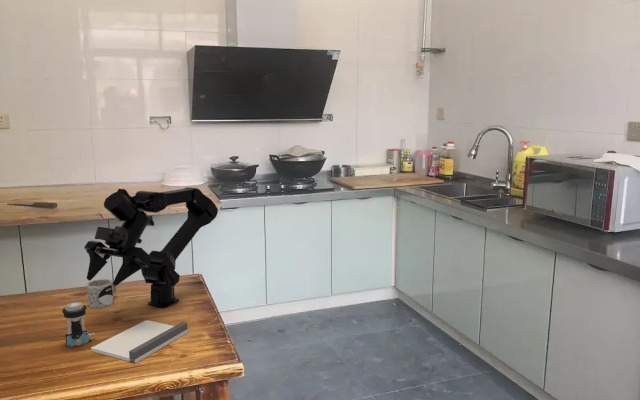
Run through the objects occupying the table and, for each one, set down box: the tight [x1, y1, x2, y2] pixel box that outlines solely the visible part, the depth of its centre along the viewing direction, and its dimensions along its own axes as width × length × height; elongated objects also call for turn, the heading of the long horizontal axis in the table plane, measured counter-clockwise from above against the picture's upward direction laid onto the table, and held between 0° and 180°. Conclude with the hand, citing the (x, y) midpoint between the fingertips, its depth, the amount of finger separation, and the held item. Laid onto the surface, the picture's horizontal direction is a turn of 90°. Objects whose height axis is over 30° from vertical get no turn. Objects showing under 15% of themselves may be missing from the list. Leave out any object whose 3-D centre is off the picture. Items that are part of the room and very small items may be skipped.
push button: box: [61, 301, 96, 348], centre depth 124 cm, size 7×5×10 cm
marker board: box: [90, 319, 189, 364], centre depth 126 cm, size 18×14×2 cm
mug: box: [86, 278, 118, 310], centre depth 151 cm, size 10×7×7 cm
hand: (101, 282), depth 130 cm, fingers open, 9 cm apart
